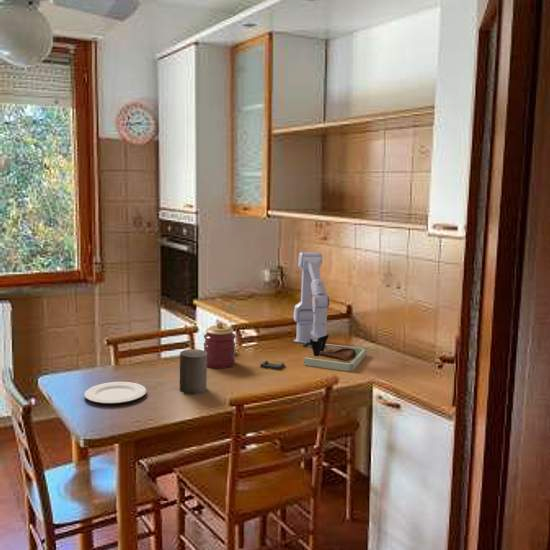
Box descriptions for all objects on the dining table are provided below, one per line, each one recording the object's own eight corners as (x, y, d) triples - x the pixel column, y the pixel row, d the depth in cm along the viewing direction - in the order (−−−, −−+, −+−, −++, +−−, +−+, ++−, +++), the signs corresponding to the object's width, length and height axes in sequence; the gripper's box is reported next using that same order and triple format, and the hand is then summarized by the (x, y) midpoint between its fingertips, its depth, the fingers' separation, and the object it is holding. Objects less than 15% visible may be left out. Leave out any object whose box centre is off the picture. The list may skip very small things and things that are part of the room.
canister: (215, 371, 240) (215, 327, 237) (197, 363, 249) (197, 321, 247) (241, 365, 248) (242, 322, 245) (223, 357, 258) (223, 316, 255)
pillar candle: (176, 393, 214) (177, 352, 212) (182, 384, 224) (183, 344, 221) (204, 395, 214) (204, 353, 211) (208, 385, 223) (209, 346, 221)
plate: (75, 393, 212) (75, 388, 212) (131, 382, 225) (131, 377, 224) (98, 412, 196) (98, 407, 196) (157, 399, 209) (156, 394, 208)
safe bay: (321, 349, 273) (322, 343, 273) (366, 355, 266) (366, 348, 265) (303, 365, 250) (304, 358, 249) (351, 371, 243) (352, 364, 242)
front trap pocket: (266, 363, 251) (266, 360, 251) (284, 365, 248) (284, 363, 248) (260, 367, 246) (260, 364, 245) (279, 370, 243) (279, 367, 243)
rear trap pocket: (306, 344, 281) (306, 341, 281) (323, 346, 278) (323, 343, 278) (303, 347, 277) (303, 344, 276) (319, 349, 274) (320, 346, 274)
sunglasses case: (310, 354, 265) (314, 339, 267) (315, 358, 271) (319, 344, 273) (348, 361, 256) (352, 346, 258) (353, 366, 262) (357, 351, 264)
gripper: (315, 318, 266) (314, 348, 268) (306, 325, 253) (305, 356, 255) (331, 319, 264) (329, 349, 266) (322, 327, 250) (321, 358, 253)
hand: (318, 353), depth 260 cm, fingers open, 7 cm apart
